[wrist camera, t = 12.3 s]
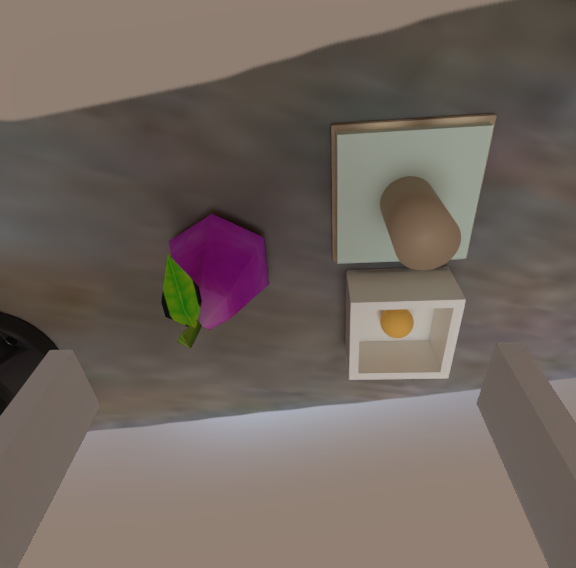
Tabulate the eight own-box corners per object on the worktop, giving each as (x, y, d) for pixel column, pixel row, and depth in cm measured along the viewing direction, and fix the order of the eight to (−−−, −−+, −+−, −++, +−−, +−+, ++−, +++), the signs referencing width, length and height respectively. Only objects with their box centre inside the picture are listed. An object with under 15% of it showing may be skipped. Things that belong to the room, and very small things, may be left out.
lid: (336, 257, 43) (342, 311, 35) (336, 131, 35) (343, 164, 28) (462, 252, 42) (495, 307, 34) (488, 121, 34) (538, 154, 27)
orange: (377, 324, 47) (381, 345, 44) (379, 300, 45) (383, 320, 42) (408, 323, 47) (414, 344, 44) (411, 299, 45) (418, 319, 42)
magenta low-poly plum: (293, 252, 43) (287, 349, 31) (234, 310, 48) (207, 414, 36) (208, 186, 40) (162, 267, 27) (153, 256, 44) (92, 352, 32)
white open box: (345, 343, 50) (348, 379, 45) (346, 270, 44) (350, 302, 39) (434, 341, 50) (448, 378, 45) (448, 266, 43) (465, 299, 38)
